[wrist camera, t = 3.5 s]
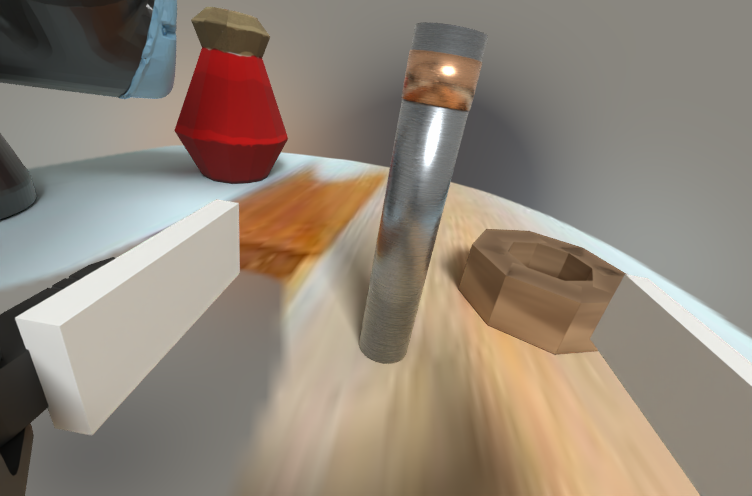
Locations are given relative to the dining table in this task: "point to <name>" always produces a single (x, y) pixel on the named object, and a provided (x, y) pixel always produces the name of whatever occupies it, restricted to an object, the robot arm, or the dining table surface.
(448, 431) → the dining table surface
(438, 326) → the dining table surface
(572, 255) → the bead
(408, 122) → the copper-banded metal rod
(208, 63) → the bottle
